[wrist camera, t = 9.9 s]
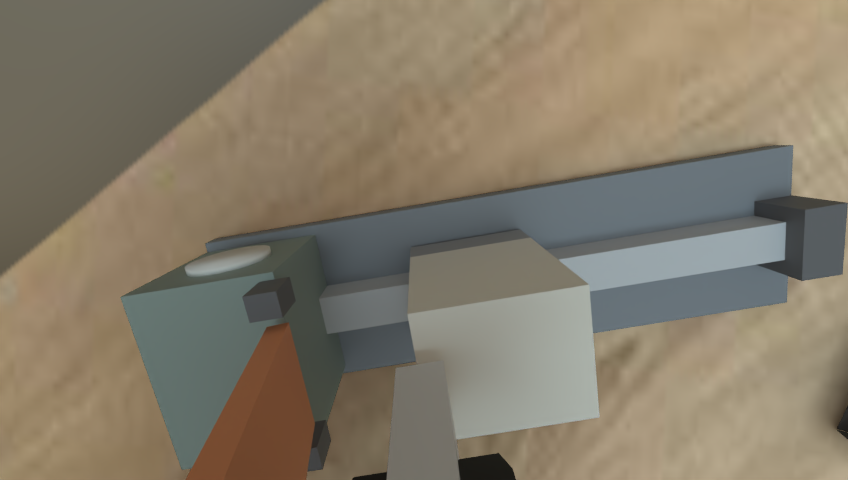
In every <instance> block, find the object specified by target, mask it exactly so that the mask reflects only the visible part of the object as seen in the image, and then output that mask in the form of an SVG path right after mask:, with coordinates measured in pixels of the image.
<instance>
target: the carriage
mask: <svg viewBox="0 0 848 480" xmlns="http://www.w3.org/2000/svg"><path fill="white" fill-rule="evenodd" d="M407 315H408V321H409V326H410V331H411V337H412V342H413V347H414V353H415V358H416V363H417V364H424V363H430V362H436V361H442V360H443V361H444V367H445V373H446V379H447V385H448V391H449V397H450V403H451V409H452V415H453V421H454V427H455V433H456V439H457V440H458V439H464V438H471V437H477V436H483V435H490V434H496V433H503V432H509V431H515V430H522V429H528V428H535V427H541V426H547V425H554V424H560V423H567V422H573V421H579V420H586V419H592V418H599V405H598V392H597V379H596V366H595V353H594V340H593V327H592V314H591V301H590V288H589V284H588V283H587V282H585V281H584V280H583V279H582V278H580V277H579V276H578V275H577V274H575V273H574V272H573V271H572V270H570V269H569V268H568V267H567V266H565V265H564V264H563V263H562V262H560V261H559V260H558V259H557V258H555V257H554V256H553V255H552V254H550V253H549V252H548V251H547V250H545V249H544V248H543V247H542V246H540V245H539V244H538V243H537V242H535V241H534V240H533V239H532V238H530V237H529V236H528V235H527V234H525V233H524V232H523V231H522V230H520V229H519V230H513V231H507V232H501V233H495V234H489V235H483V236H477V237H471V238H465V239H459V240H453V241H447V242H441V243H435V244H429V245H423V246H416V247H411V251H410V271H409V291H408V311H407Z"/></svg>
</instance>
